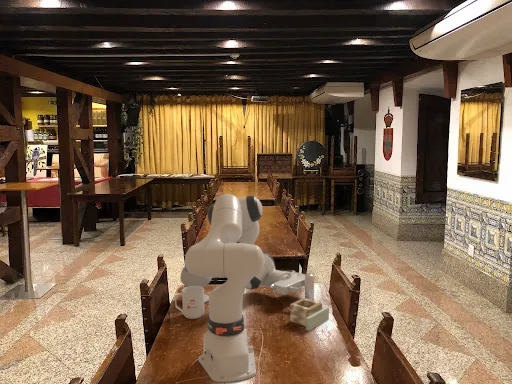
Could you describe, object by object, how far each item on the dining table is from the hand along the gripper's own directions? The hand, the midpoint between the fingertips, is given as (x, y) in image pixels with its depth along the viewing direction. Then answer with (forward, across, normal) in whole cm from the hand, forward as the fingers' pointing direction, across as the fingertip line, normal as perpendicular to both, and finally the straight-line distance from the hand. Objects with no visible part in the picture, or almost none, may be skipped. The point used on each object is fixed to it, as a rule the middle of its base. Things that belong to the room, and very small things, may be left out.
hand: (306, 287), depth 191 cm
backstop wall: (+15, -14, +8) cm, 22 cm away
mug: (-31, -40, +8) cm, 51 cm away
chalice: (-42, -27, +8) cm, 50 cm away
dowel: (+1, 0, +8) cm, 8 cm away
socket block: (+9, -14, +8) cm, 18 cm away
